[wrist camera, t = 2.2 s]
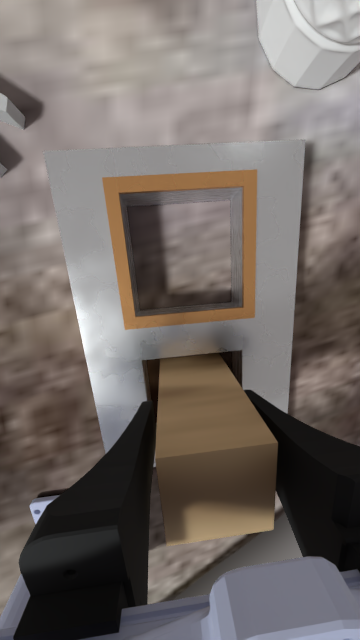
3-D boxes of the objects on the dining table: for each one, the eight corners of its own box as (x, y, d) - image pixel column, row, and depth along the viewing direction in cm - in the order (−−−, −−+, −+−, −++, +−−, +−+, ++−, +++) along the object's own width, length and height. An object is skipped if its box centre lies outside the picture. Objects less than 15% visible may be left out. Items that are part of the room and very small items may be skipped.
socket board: (271, 429, 17) (286, 452, 15) (116, 448, 16) (109, 475, 14) (282, 160, 12) (308, 136, 10) (63, 171, 11) (40, 148, 9)
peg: (220, 404, 16) (273, 529, 8) (165, 410, 16) (166, 546, 8) (218, 353, 15) (277, 442, 7) (160, 359, 15) (154, 458, 7)
